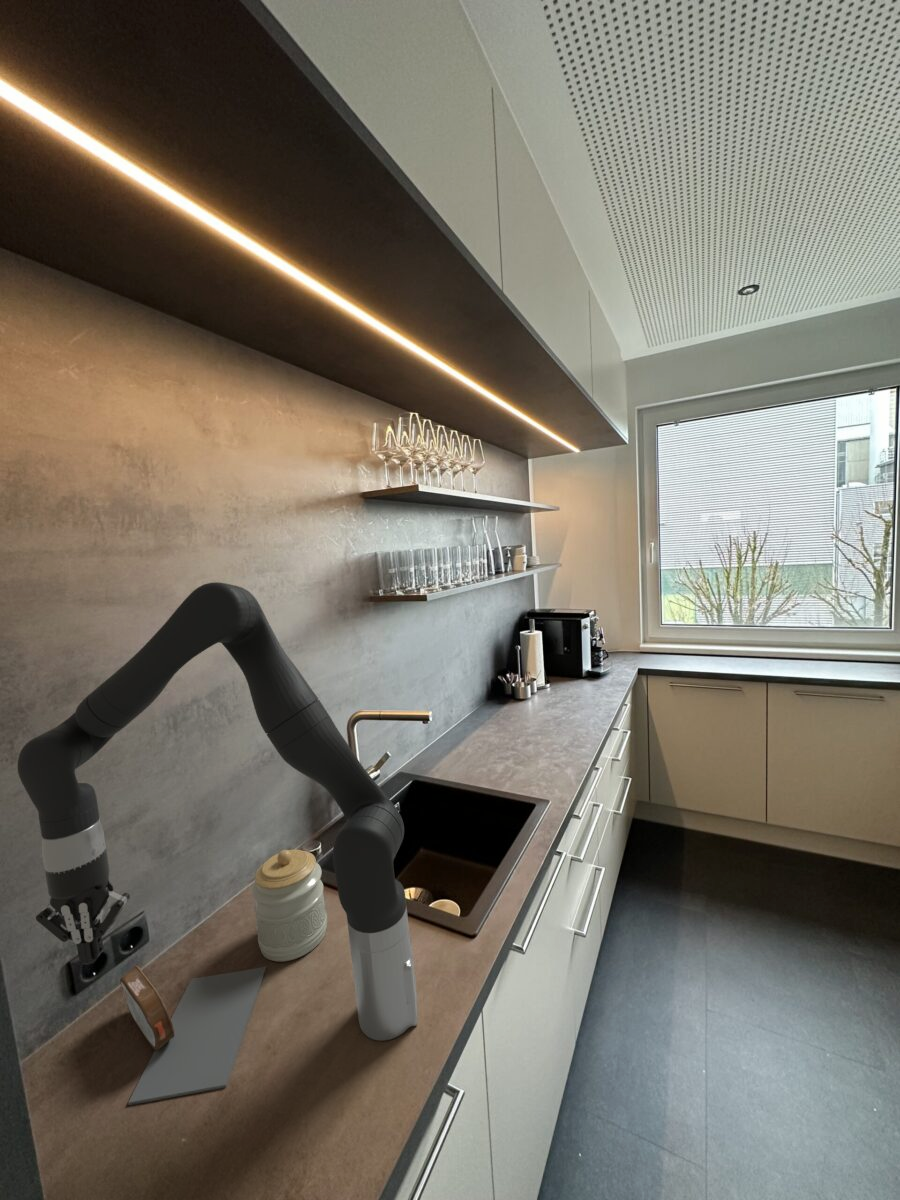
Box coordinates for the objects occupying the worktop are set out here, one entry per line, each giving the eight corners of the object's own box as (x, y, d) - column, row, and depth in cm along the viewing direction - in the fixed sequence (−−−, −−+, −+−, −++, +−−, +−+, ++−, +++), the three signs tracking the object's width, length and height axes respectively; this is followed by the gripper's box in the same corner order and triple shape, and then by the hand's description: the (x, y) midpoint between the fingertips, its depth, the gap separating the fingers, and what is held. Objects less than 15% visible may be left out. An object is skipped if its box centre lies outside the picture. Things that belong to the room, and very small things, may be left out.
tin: (179, 1047, 73) (169, 996, 73) (157, 1065, 71) (145, 1013, 70) (145, 999, 83) (135, 954, 82) (124, 1014, 81) (114, 968, 80)
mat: (266, 968, 87) (265, 966, 87) (225, 1087, 68) (225, 1084, 68) (191, 981, 86) (191, 978, 86) (128, 1105, 66) (128, 1102, 66)
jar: (303, 969, 87) (292, 876, 85) (244, 958, 90) (232, 868, 89) (340, 916, 99) (330, 834, 98) (286, 908, 103) (276, 829, 101)
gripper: (134, 835, 78) (148, 934, 80) (47, 846, 77) (64, 947, 79) (106, 863, 71) (122, 973, 72) (9, 876, 70) (28, 987, 71)
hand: (92, 959), depth 76 cm, fingers closed
